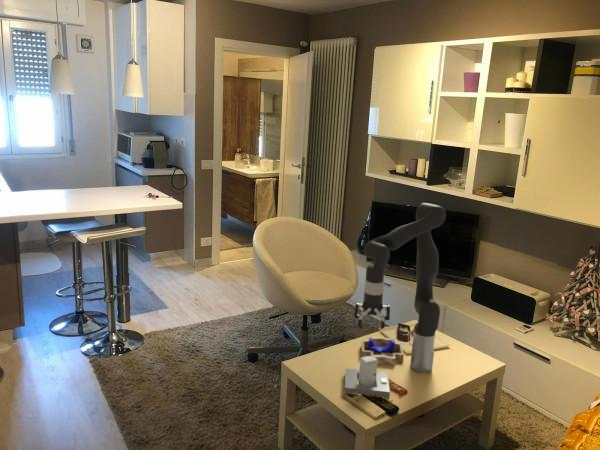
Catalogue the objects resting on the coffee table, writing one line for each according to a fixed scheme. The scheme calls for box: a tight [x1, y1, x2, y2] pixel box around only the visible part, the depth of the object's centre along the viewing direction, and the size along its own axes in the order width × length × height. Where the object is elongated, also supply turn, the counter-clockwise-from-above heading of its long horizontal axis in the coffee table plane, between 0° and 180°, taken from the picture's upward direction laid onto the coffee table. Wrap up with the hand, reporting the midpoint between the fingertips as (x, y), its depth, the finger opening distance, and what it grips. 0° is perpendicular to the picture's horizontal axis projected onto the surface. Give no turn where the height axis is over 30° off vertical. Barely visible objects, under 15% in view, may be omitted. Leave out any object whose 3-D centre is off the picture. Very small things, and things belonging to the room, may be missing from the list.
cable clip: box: [367, 336, 396, 355], centre depth 238 cm, size 12×4×6 cm, turn 84°
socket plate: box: [344, 368, 391, 399], centre depth 209 cm, size 18×15×4 cm
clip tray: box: [360, 336, 405, 366], centre depth 236 cm, size 19×19×4 cm
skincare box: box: [358, 356, 378, 387], centre depth 208 cm, size 6×4×12 cm
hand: (370, 328), depth 204 cm, fingers open, 8 cm apart
